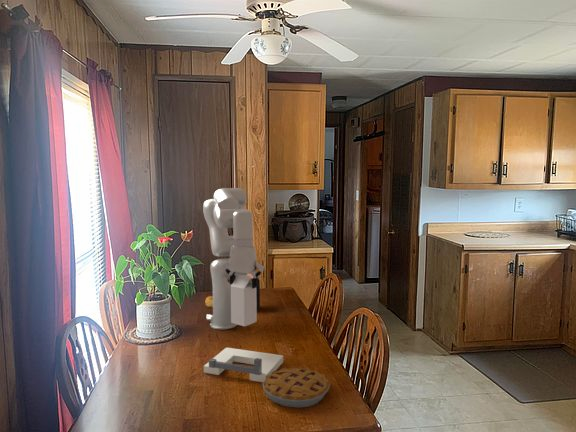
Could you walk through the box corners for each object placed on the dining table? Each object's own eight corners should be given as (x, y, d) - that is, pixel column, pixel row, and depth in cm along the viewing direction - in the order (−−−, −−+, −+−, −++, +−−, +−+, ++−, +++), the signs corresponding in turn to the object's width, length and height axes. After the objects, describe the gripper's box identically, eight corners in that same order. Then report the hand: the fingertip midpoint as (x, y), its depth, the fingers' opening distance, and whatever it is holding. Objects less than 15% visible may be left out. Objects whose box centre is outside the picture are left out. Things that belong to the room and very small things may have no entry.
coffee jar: (236, 311, 232) (235, 277, 230) (244, 305, 242) (243, 273, 241) (255, 313, 229) (255, 279, 227) (262, 307, 239) (262, 274, 237)
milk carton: (244, 327, 172) (243, 278, 170) (231, 323, 176) (230, 275, 175) (256, 322, 178) (256, 274, 176) (243, 318, 182) (243, 272, 180)
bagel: (207, 309, 236) (207, 300, 236) (203, 304, 246) (203, 295, 246) (226, 307, 240) (226, 298, 240) (220, 302, 250) (220, 294, 250)
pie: (315, 417, 134) (315, 401, 133) (250, 401, 143) (250, 386, 142) (338, 385, 153) (338, 371, 153) (280, 373, 163) (280, 359, 162)
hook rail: (208, 367, 161) (208, 353, 161) (211, 364, 163) (211, 351, 163) (259, 375, 155) (259, 361, 155) (261, 372, 157) (261, 358, 156)
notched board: (203, 372, 163) (203, 365, 162) (226, 353, 179) (226, 347, 179) (265, 382, 155) (265, 375, 155) (283, 361, 172) (283, 355, 172)
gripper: (218, 243, 173) (219, 287, 175) (260, 245, 168) (260, 290, 169) (227, 240, 180) (228, 282, 182) (267, 242, 175) (268, 286, 176)
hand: (243, 286), depth 176 cm, fingers closed on milk carton, 8 cm apart
